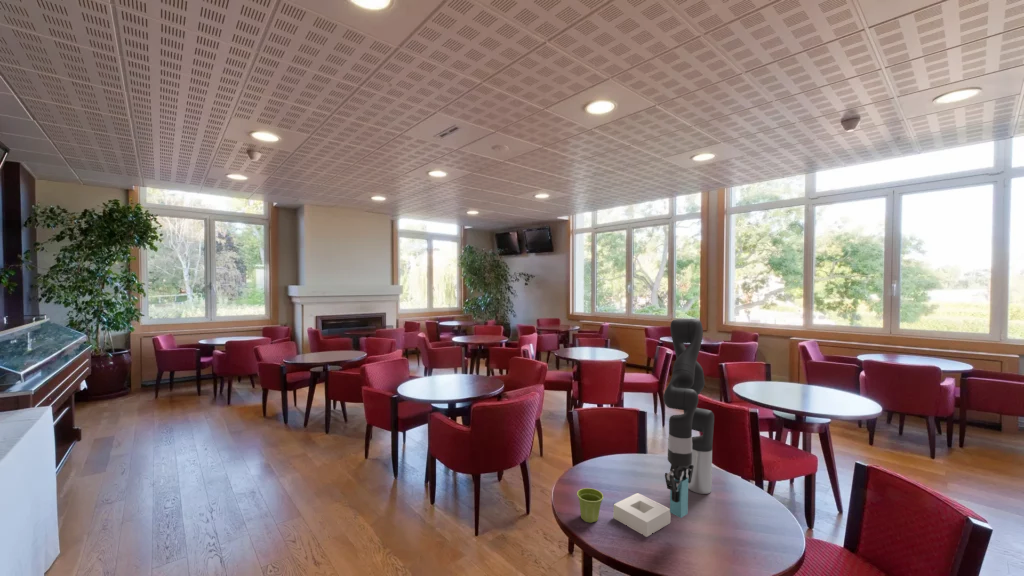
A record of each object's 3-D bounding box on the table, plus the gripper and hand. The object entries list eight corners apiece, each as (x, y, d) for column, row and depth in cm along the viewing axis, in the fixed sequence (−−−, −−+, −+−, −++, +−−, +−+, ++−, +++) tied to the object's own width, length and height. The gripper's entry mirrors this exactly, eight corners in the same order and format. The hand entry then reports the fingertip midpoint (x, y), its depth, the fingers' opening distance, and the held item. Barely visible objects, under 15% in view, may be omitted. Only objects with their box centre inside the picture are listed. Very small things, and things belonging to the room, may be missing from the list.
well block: (637, 505, 162) (637, 492, 162) (670, 522, 151) (670, 508, 151) (613, 518, 154) (613, 504, 154) (646, 537, 143) (647, 522, 142)
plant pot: (604, 514, 156) (604, 490, 156) (601, 528, 147) (601, 503, 147) (579, 509, 159) (579, 486, 159) (574, 522, 150) (574, 498, 150)
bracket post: (676, 508, 144) (677, 473, 144) (687, 513, 141) (688, 478, 140) (669, 512, 142) (670, 476, 141) (681, 517, 138) (681, 481, 138)
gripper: (681, 439, 148) (680, 488, 148) (657, 449, 139) (656, 501, 140) (702, 446, 142) (701, 497, 142) (678, 457, 133) (677, 511, 134)
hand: (678, 498), depth 141 cm, fingers closed on bracket post, 4 cm apart
